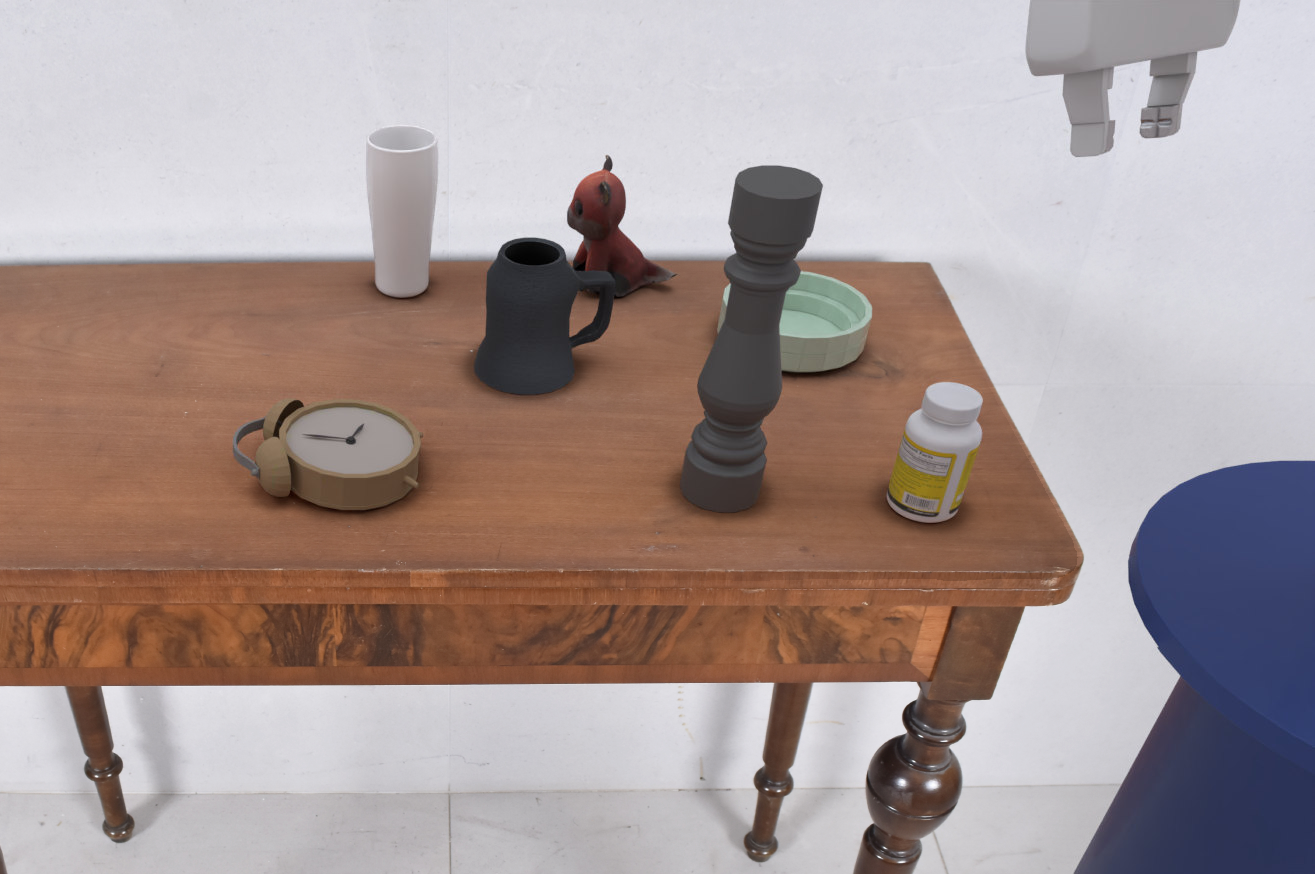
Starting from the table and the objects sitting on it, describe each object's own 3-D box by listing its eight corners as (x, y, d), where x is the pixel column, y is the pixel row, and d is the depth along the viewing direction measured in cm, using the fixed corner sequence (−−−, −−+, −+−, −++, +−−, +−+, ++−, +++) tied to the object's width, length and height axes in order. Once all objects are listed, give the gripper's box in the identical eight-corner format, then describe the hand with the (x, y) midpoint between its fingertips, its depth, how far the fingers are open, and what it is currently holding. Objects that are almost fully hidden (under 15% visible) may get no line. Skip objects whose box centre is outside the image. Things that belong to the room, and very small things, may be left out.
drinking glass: (376, 307, 125) (374, 154, 115) (361, 276, 130) (358, 127, 120) (443, 299, 126) (447, 147, 117) (426, 269, 131) (428, 121, 122)
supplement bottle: (934, 480, 103) (969, 372, 96) (970, 520, 99) (1009, 410, 92) (871, 489, 102) (902, 380, 96) (906, 529, 98) (941, 419, 92)
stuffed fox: (680, 304, 125) (698, 184, 118) (564, 304, 126) (575, 184, 118) (668, 269, 131) (685, 152, 123) (558, 269, 131) (568, 152, 123)
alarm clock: (421, 485, 97) (224, 450, 96) (410, 536, 100) (219, 502, 99) (427, 406, 106) (246, 373, 105) (416, 455, 109) (240, 423, 108)
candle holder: (759, 472, 104) (825, 167, 87) (759, 517, 99) (829, 204, 83) (681, 463, 105) (732, 160, 88) (678, 507, 100) (730, 196, 84)
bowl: (881, 331, 121) (891, 292, 119) (833, 392, 113) (843, 352, 110) (749, 295, 127) (756, 257, 124) (693, 351, 119) (700, 311, 116)
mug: (485, 398, 112) (491, 279, 105) (464, 347, 119) (468, 232, 112) (618, 387, 114) (633, 268, 106) (590, 337, 121) (602, 222, 113)
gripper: (1129, -133, 63) (1106, 164, 68) (1278, -129, 75) (1249, 124, 80) (1001, -107, 67) (988, 170, 73) (1161, -108, 79) (1140, 130, 84)
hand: (1126, 145), depth 76 cm, fingers open, 8 cm apart
